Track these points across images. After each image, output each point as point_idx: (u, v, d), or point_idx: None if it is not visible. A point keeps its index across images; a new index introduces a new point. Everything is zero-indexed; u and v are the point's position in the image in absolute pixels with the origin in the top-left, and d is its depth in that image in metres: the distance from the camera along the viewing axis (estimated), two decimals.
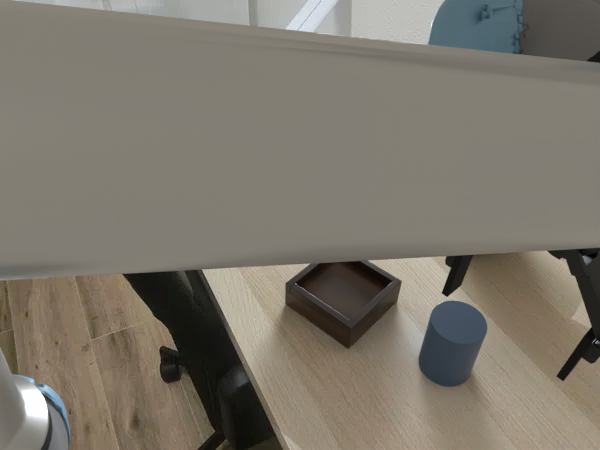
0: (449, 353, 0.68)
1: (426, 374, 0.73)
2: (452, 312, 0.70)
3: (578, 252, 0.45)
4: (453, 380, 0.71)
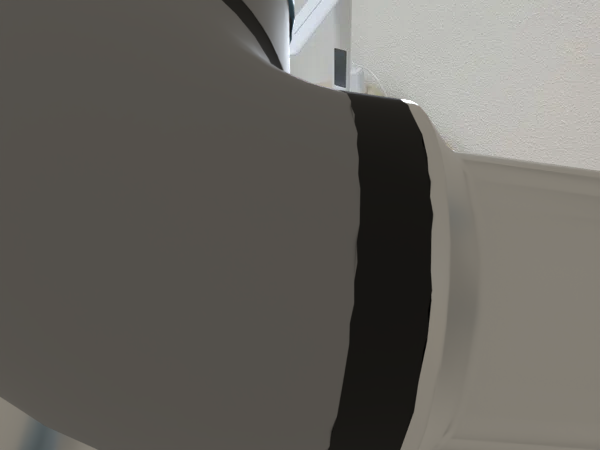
0: None
1: None
2: None
3: None
4: None
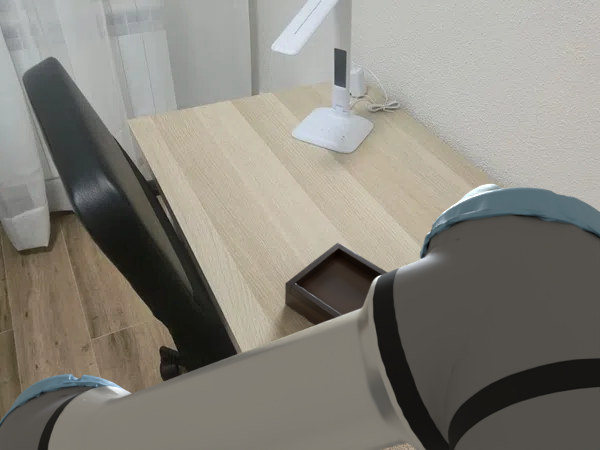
0: None
1: None
2: None
3: None
4: None
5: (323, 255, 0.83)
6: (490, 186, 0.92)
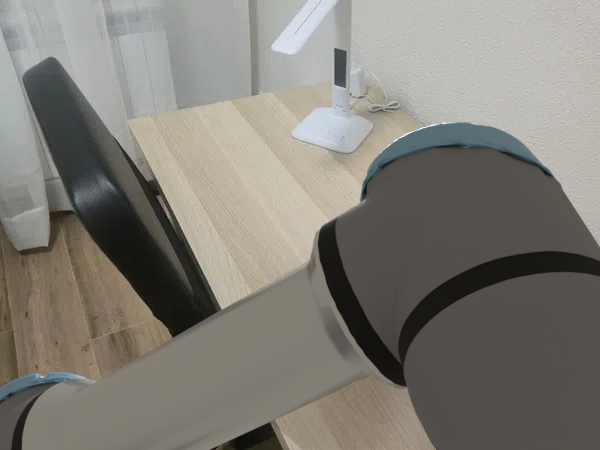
0: None
1: None
2: None
3: None
4: None
5: None
6: None
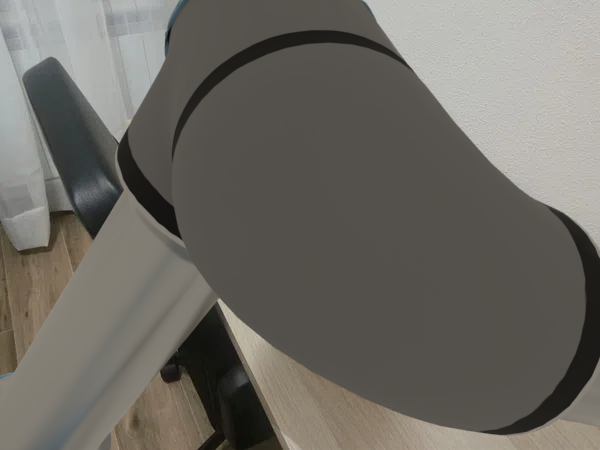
0: None
1: None
2: None
3: None
4: None
5: None
6: None
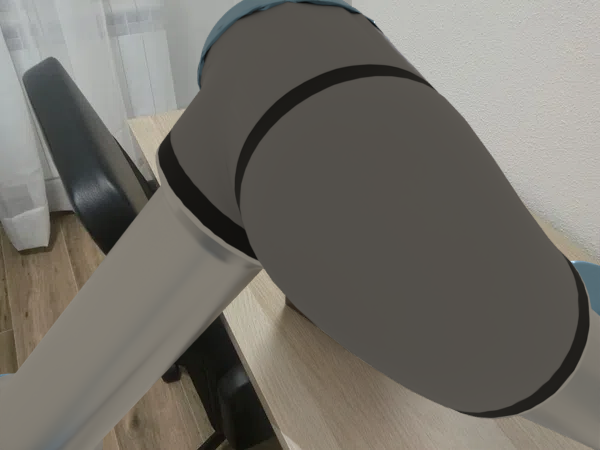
0: None
1: None
2: None
3: None
4: None
5: None
6: None
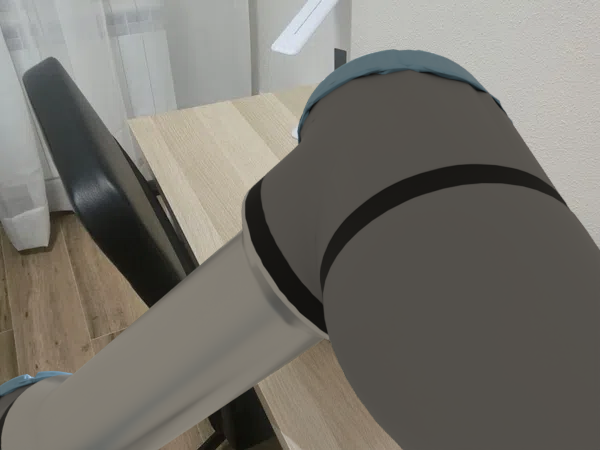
0: None
1: None
2: None
3: None
4: None
5: None
6: None
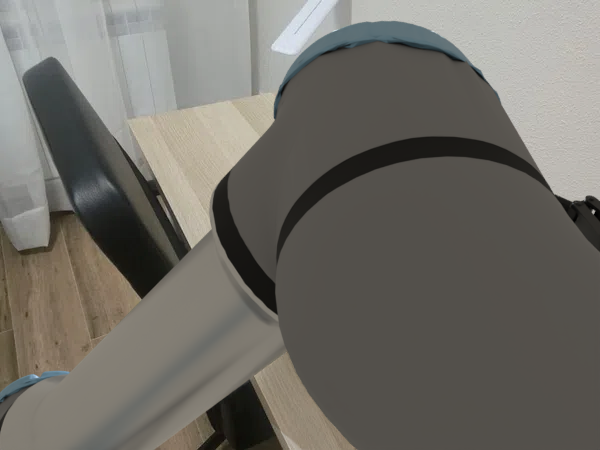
0: None
1: None
2: None
3: None
4: None
5: None
6: None
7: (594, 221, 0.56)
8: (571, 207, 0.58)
